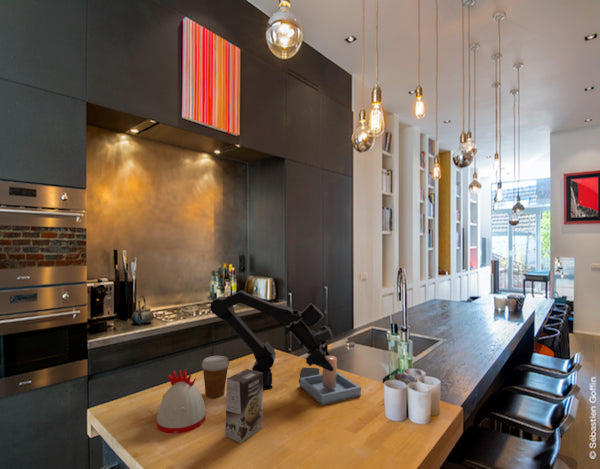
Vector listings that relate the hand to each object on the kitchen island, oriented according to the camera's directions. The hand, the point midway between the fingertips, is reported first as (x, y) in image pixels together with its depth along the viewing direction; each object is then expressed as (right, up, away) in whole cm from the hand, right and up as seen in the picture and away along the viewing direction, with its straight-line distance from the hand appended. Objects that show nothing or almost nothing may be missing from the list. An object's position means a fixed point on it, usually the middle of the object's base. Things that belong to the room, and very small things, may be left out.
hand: (333, 367), depth 123 cm
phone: (-8, -9, +13) cm, 18 cm away
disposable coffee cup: (-42, -8, -4) cm, 43 cm away
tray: (-1, -8, 0) cm, 9 cm away
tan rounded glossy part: (-1, -7, 0) cm, 7 cm away
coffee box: (-28, -8, -27) cm, 40 cm away
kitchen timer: (-48, -8, -21) cm, 53 cm away
